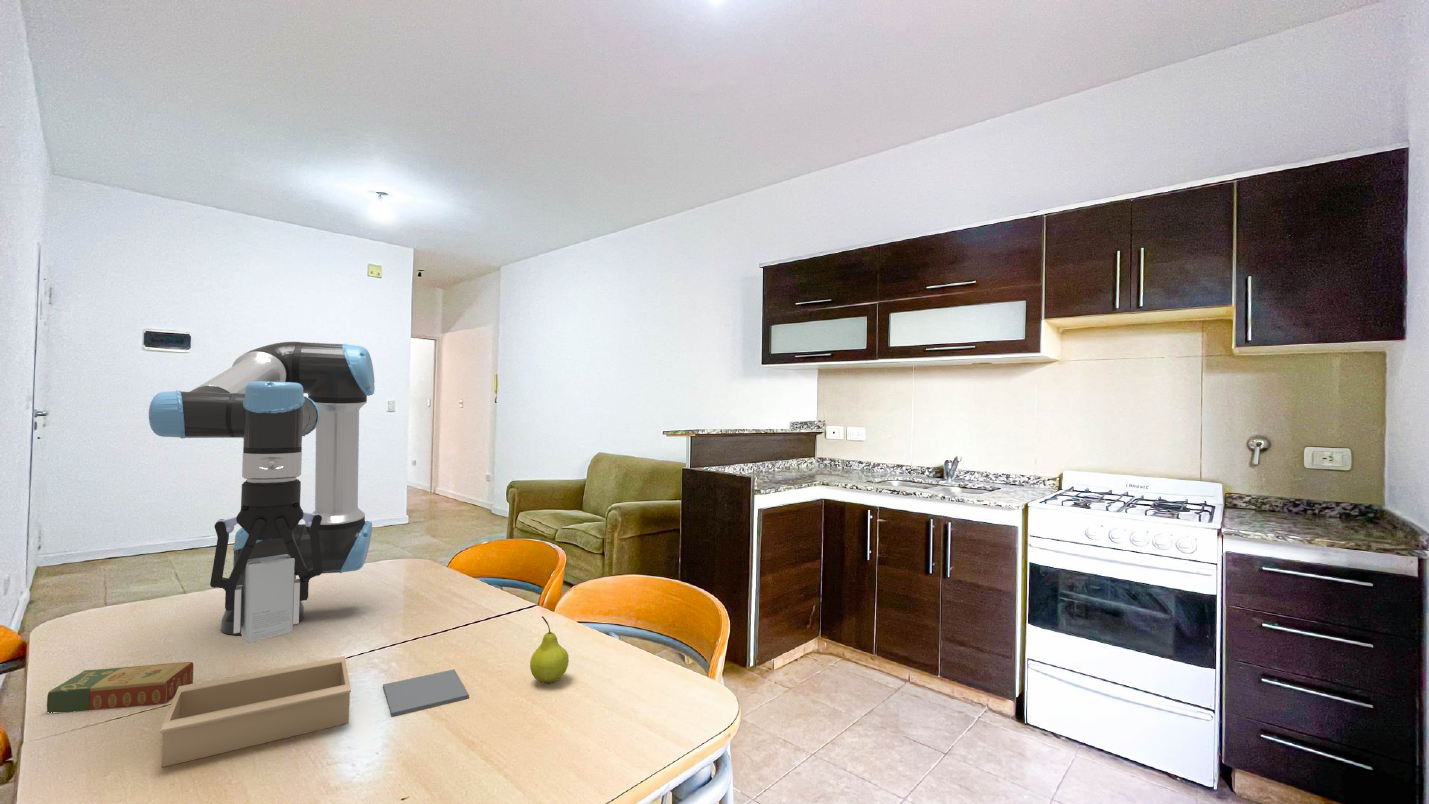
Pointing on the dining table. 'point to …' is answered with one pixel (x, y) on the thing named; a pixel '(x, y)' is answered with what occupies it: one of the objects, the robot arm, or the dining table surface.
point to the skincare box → (267, 597)
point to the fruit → (549, 659)
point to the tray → (255, 709)
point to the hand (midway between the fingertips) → (267, 625)
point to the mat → (424, 692)
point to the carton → (120, 687)
